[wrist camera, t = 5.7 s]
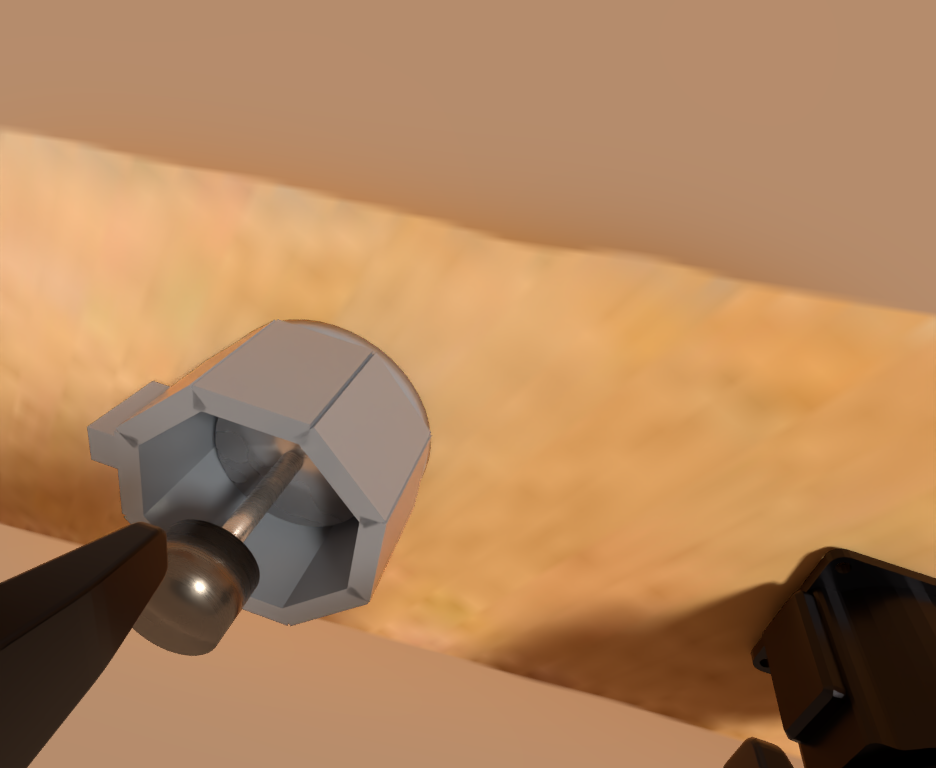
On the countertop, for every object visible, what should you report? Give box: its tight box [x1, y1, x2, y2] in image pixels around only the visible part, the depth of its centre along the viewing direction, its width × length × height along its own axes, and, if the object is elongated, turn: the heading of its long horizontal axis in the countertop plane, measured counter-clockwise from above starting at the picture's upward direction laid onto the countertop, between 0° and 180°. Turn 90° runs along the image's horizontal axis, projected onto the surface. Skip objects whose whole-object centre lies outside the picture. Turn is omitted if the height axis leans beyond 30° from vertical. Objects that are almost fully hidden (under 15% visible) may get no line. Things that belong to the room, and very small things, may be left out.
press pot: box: [87, 320, 432, 626], centre depth 21 cm, size 10×9×6 cm
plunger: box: [132, 417, 354, 656], centre depth 19 cm, size 6×6×8 cm
